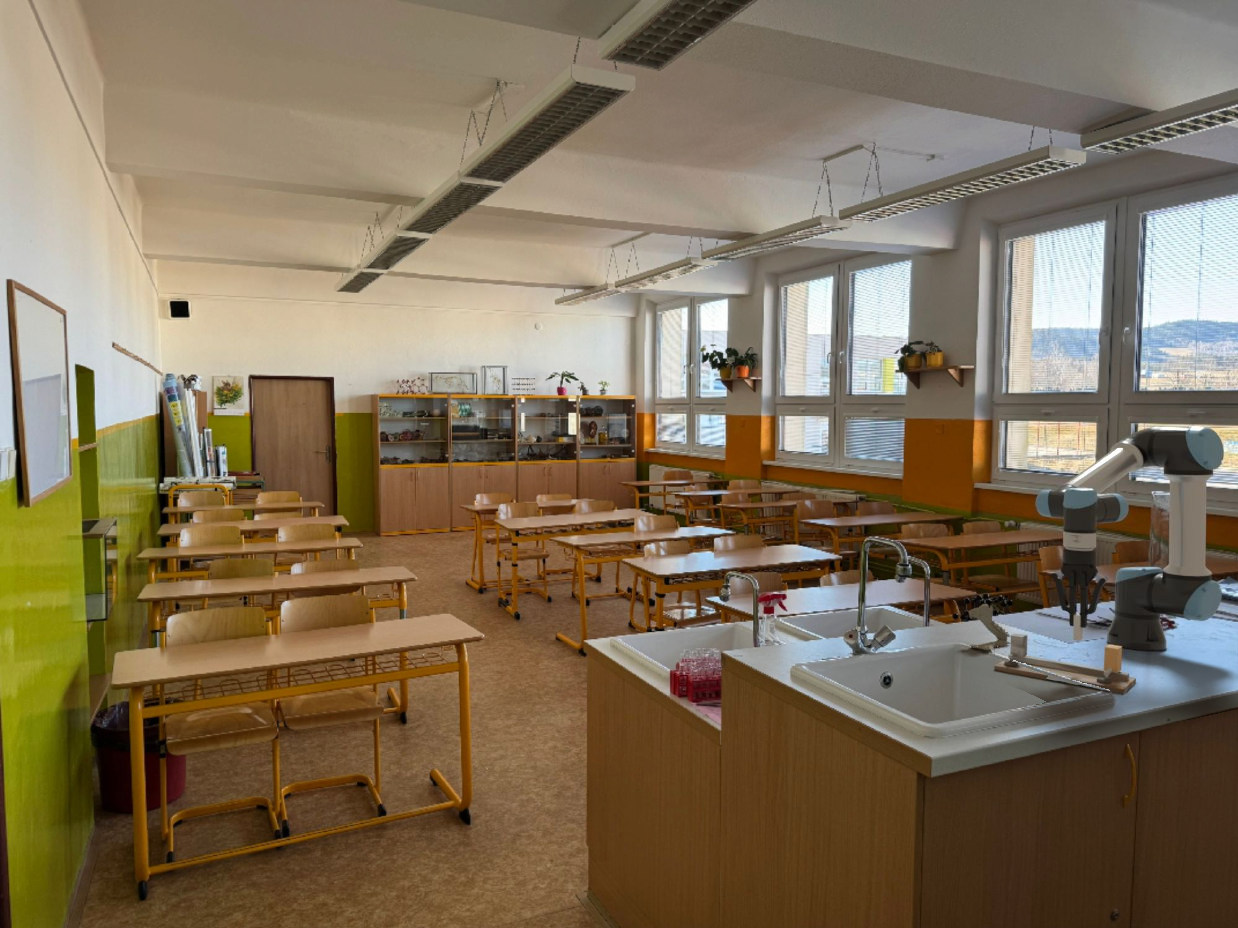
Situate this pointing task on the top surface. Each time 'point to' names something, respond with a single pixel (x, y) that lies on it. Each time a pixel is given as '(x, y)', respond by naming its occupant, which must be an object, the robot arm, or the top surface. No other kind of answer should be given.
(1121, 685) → the gauge board
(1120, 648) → the block
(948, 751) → the top surface
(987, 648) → the jawbone
